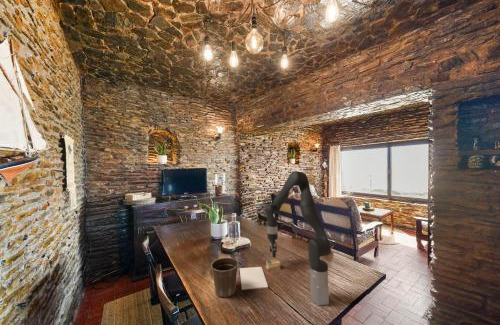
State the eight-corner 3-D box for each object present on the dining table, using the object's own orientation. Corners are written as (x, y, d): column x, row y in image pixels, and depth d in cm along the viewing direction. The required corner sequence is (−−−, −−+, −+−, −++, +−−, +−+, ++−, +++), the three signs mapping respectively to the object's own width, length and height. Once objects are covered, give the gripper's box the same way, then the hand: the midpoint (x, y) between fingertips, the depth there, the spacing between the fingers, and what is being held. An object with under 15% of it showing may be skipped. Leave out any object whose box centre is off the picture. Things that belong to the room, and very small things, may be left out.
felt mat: (268, 287, 119) (268, 286, 119) (241, 289, 117) (241, 288, 117) (261, 267, 143) (261, 266, 143) (239, 268, 141) (239, 268, 141)
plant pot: (205, 291, 116) (205, 263, 117) (227, 279, 128) (227, 255, 128) (222, 304, 105) (222, 274, 105) (244, 291, 116) (244, 263, 116)
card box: (280, 269, 140) (280, 262, 140) (268, 270, 138) (268, 263, 139) (277, 266, 145) (277, 258, 145) (266, 267, 143) (266, 260, 143)
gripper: (280, 235, 136) (280, 258, 135) (275, 228, 150) (275, 249, 150) (269, 235, 135) (269, 259, 135) (265, 229, 149) (265, 250, 149)
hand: (272, 254), depth 142 cm, fingers open, 8 cm apart
